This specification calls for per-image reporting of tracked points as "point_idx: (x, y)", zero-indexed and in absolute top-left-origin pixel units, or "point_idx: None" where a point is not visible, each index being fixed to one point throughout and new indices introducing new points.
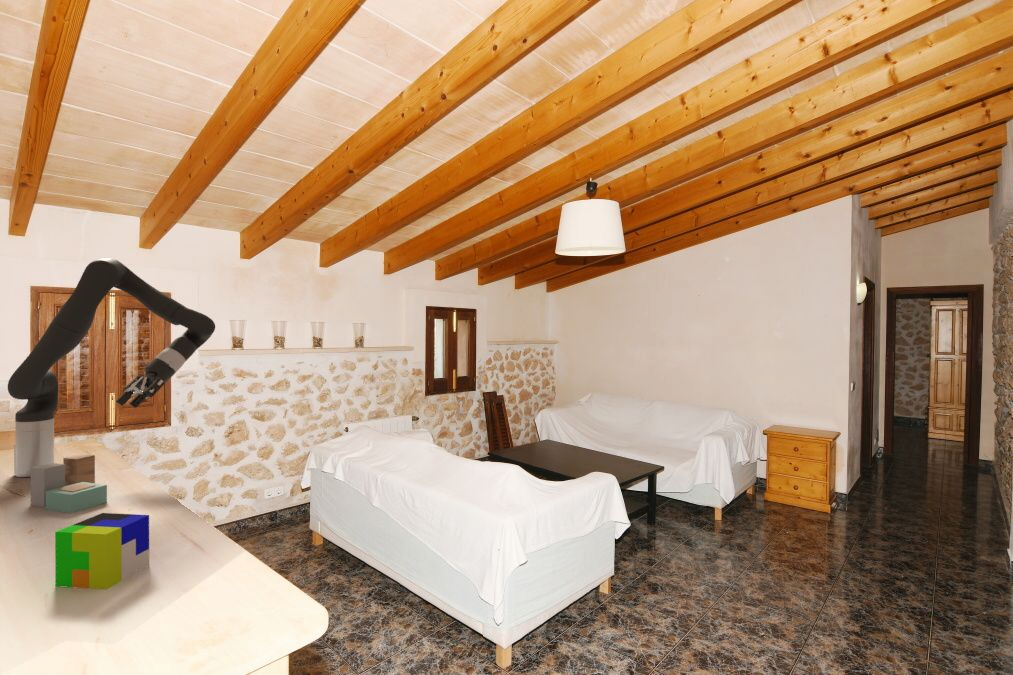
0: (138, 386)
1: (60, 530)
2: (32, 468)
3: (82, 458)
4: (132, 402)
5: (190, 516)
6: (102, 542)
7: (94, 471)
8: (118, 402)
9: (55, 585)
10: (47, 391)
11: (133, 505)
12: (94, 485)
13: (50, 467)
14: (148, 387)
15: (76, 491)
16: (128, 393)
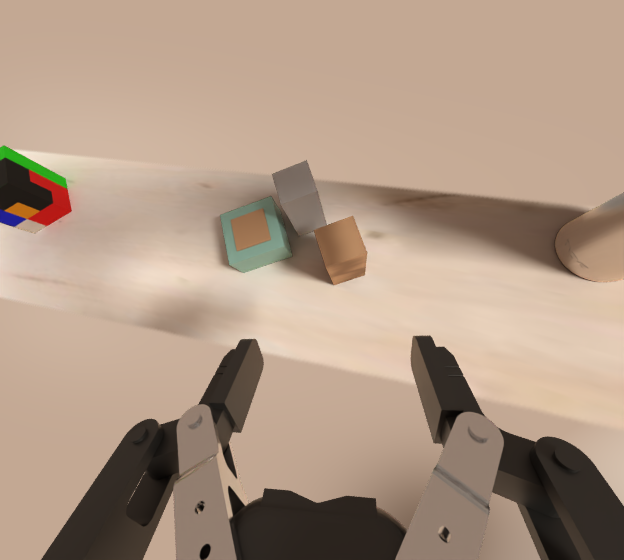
0: (338, 510)
1: (2, 148)
2: (302, 163)
3: (317, 241)
4: (238, 349)
5: (94, 315)
6: None
7: (330, 276)
8: (414, 343)
9: (64, 178)
10: None
11: (195, 290)
12: (237, 249)
13: (275, 182)
14: (123, 483)
15: (230, 224)
16: (445, 429)
